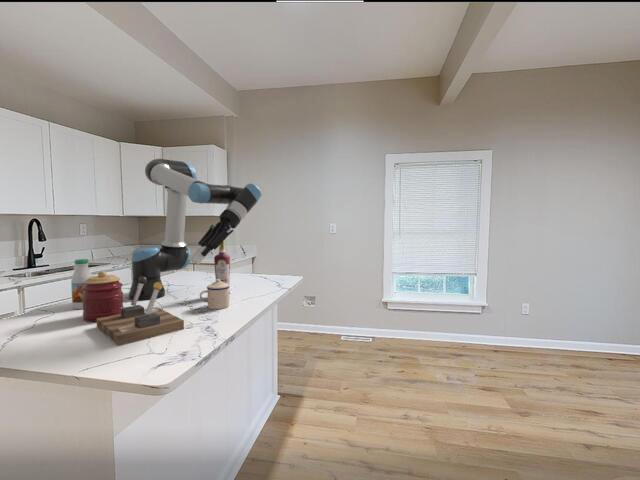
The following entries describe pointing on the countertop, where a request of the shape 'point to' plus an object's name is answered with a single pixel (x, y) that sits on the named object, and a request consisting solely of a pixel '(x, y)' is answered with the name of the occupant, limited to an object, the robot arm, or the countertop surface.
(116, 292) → the canister
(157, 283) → the front lever
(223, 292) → the teacup with lid
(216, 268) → the liquor
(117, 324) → the brown wooden base
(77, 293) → the milk bottle
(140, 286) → the rear lever
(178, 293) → the countertop surface
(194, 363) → the countertop surface
